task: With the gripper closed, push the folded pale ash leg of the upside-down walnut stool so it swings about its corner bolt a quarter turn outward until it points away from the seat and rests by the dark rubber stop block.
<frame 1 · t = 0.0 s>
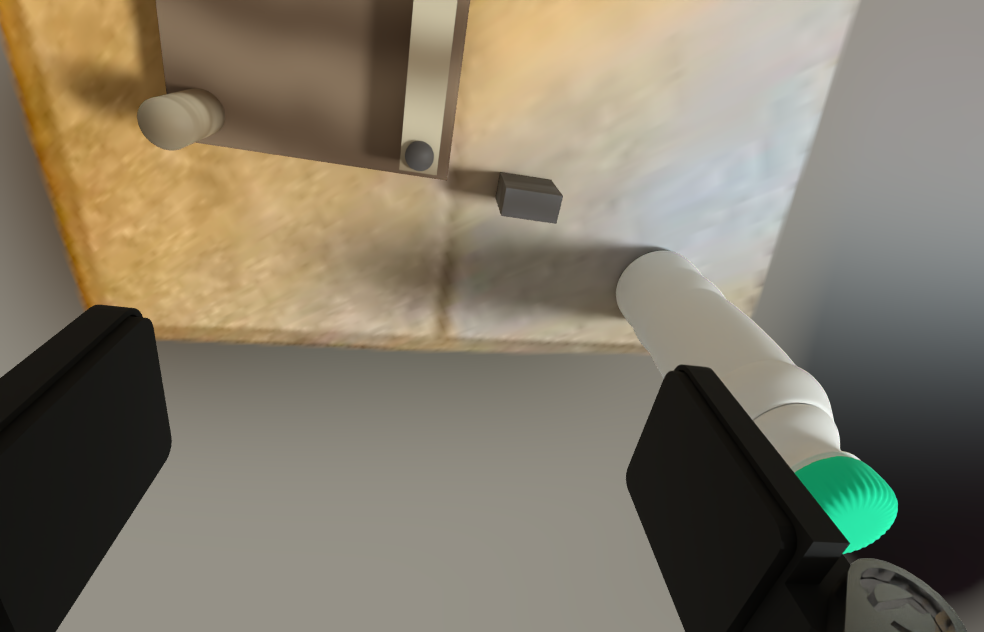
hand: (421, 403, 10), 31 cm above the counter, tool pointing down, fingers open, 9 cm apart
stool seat: (324, 9, 33), on the counter
hinged leg: (428, 70, 31), point 4 cm above the counter, hinge at 0.0°
water bottle: (652, 284, 45), on the counter
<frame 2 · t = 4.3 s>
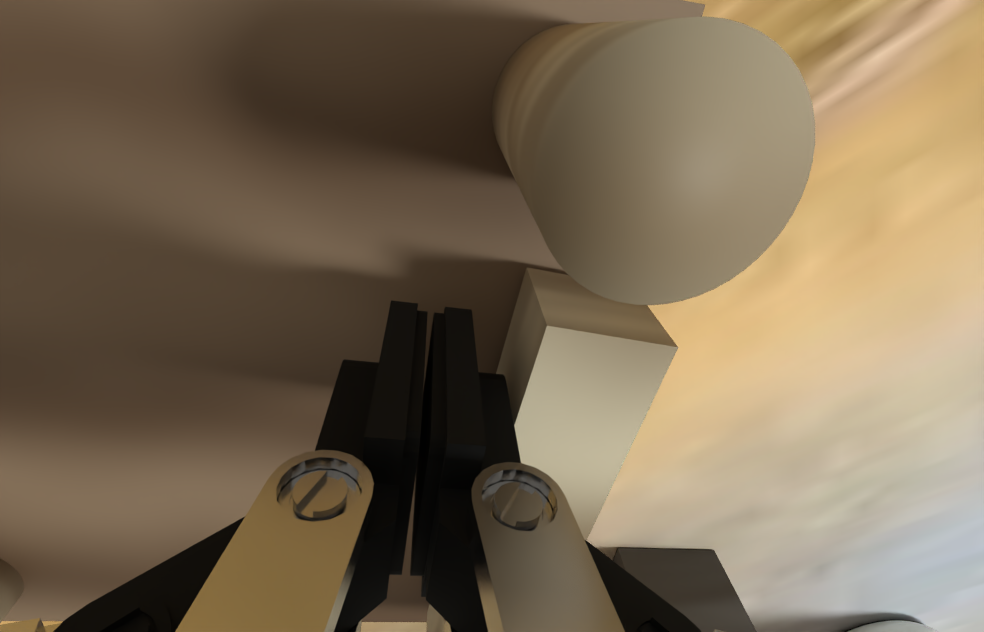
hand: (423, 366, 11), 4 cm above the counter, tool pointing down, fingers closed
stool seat: (244, 334, 14), on the counter
hinged leg: (517, 524, 12), point 4 cm above the counter, hinge at 5.0°, touching gripper
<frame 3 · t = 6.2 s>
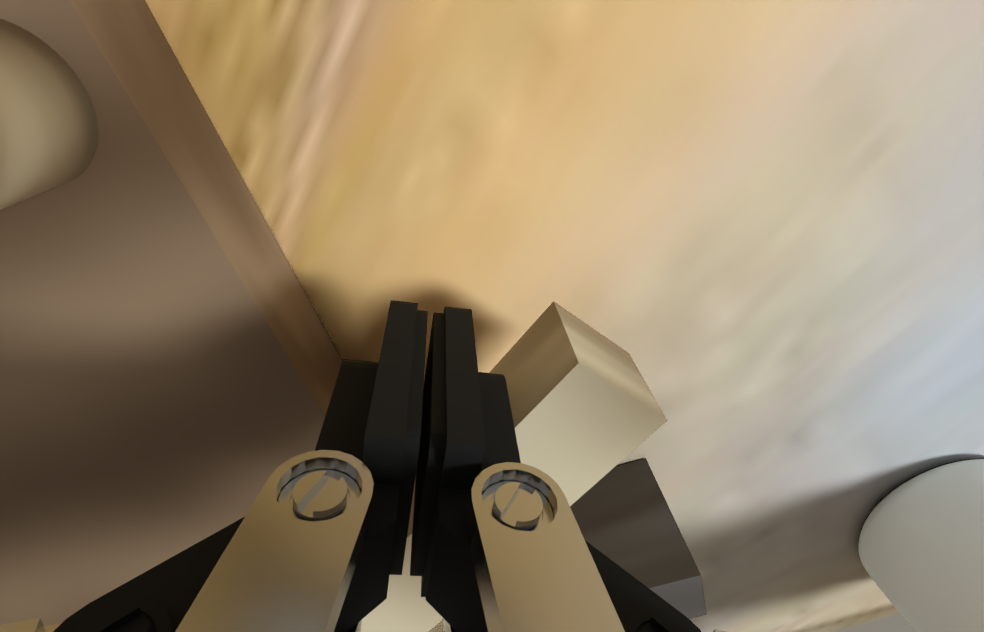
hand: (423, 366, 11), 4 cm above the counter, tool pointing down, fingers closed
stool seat: (38, 416, 15), on the counter
hinged leg: (441, 529, 13), point 4 cm above the counter, hinge at 54.6°, touching gripper
water bottle: (931, 509, 21), on the counter
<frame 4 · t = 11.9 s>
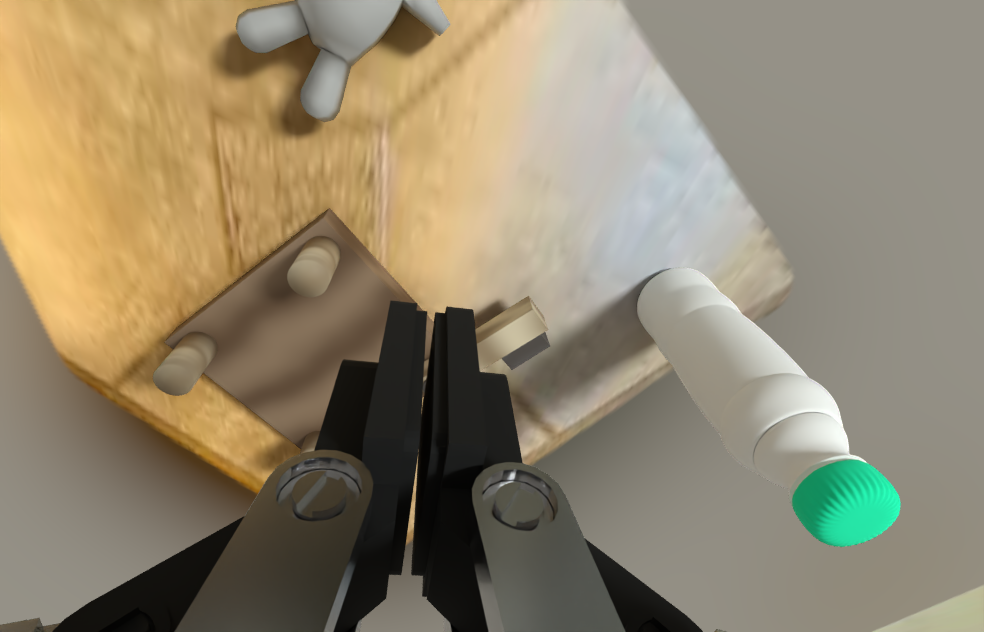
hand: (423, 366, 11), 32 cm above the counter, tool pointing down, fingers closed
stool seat: (326, 341, 47), on the counter
hinged leg: (479, 350, 44), point 4 cm above the counter, hinge at 91.1°
water bottle: (670, 298, 48), on the counter
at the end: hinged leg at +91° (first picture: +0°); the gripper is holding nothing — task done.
